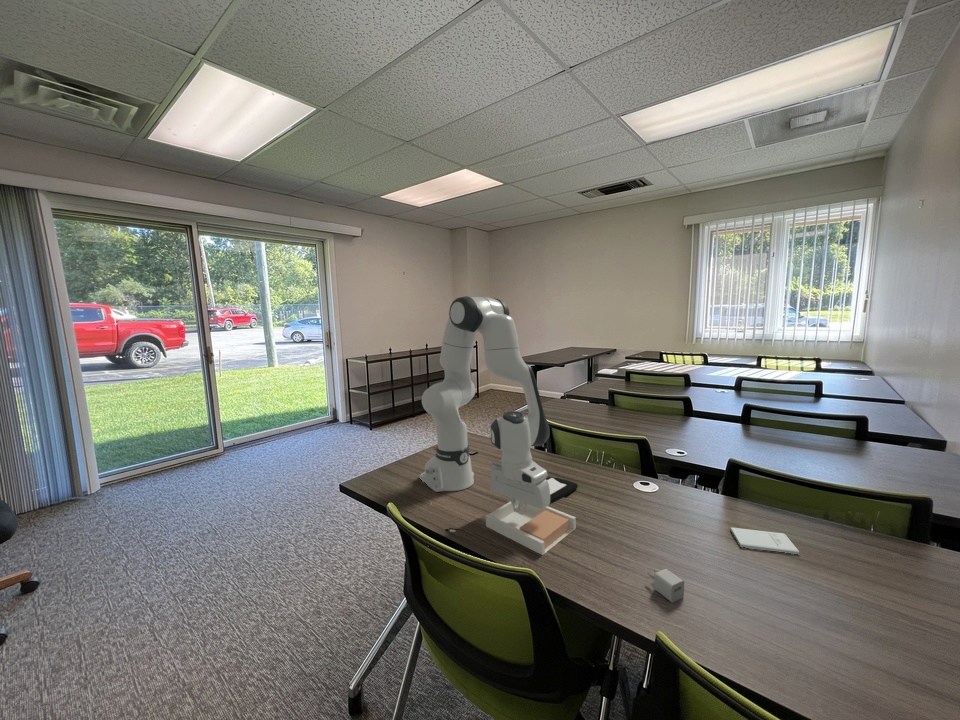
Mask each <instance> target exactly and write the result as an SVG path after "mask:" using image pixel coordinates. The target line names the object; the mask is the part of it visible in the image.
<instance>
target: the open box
mask: <svg viewBox="0 0 960 720" xmlns="http://www.w3.org/2000/svg"><path fill="white" fill-rule="evenodd" d="M517 502H518V504H519V505H520V506H521V504H520V501H518V500H517ZM545 510H546V511H549V512H551V513H554V514H556V515H558V516H561V517H563V518H566V519H568V520H569V530H568V531H567V532H566V533H564V534H563V535H562V536H561V537H559V538H558V539H557V540H556V541H554V542H553V543H552V544H551V545H549V546H548V547H547V548H546V549H545V542H544V541H542V540H540V539H538V538H536V537H534V536H532V535H530V534H528V533H526V532H523V531H521V530H520V527H521V526H523V525H524V524H526V523H527V522H528V521H530V520H531V519H533V518H534V517H536V516H537V515H539V514H540V513H542V512H543V511H545ZM576 520H577V517H576V516H573V515H571V514H568V513H566V512H563V511H561V510H558V509H557V508H556V509H555V508H553V507H551V506H549V505H548V506H547V507H545V508H544V509H539V508H536V507H533V506H531V505H528V504H527V505H526V507H525V513H524V514H523V515H521V514H518V513H516V512H514V509H513V505H512V503H511V501H510V500H509V501H508V502H507V503H504V504H503V505H502V506H500V507H498V508H497V509H495V510H493V511H492V512H490V513H488V514H486V515H485V526H486V527H487V528H489V529H491V530H492V531H495V532H496V533H498V534H500V535H501V536H504V537H506V538H508V539H510V540H513V541H514V542H516V543H517V544H520V545H522V546H524V547H526V548H527V549H530V550H532V552H533V551H534V552H535V553H538V554H539V555H541V556H543V555H545V554H546V553H548V551H550V550H551V549H552V548H554V546H556V545H557V544H558V543H560V542H561V541H562V540H563V539H565V538H566V537H567V536H568V535H569V534H570V533H572V532H573V531H574V530H576V528H577V521H576Z"/></svg>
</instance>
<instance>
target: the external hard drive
mask: <svg viewBox="0 0 960 720" xmlns="http://www.w3.org/2000/svg"><path fill="white" fill-rule="evenodd" d="M729 530H730V533H731V532H732V533H731V534H732V536H733V535H734V536H733V537H735V538H736V540H737V541H736V540H735V541H736V542H738V543H739V545H740V546H739V545H738V546H739V548H740V547H746V548H754V549H762V550H770V551H779V552H785V553H784V554H786V553H791V554H790V555H794V554H798V555H797V556H800V551H799V549H798V548H797V547H796V546H795V544H794V543H793V542H792V541H791V540H790V538H789V537H788V536H787V535H786V534H785V533H783V532H782V533H781V532H773V531H765V530H764V531H763V530H756V529H749V528H748V529H747V528H739V527H729ZM735 538H734V539H735ZM738 543H737V544H738ZM746 548H745V549H746ZM754 549H753V550H754ZM762 550H761V551H762ZM770 551H769V552H770Z"/></svg>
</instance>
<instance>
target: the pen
mask: <svg viewBox="0 0 960 720" xmlns="http://www.w3.org/2000/svg"><path fill="white" fill-rule="evenodd" d="M458 530H459V531H460V529H459V528H453V527H449V528H445V531H447V532H451V533H454V532H456V531H458ZM462 531H464V532H465V530H463V529H462Z"/></svg>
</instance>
